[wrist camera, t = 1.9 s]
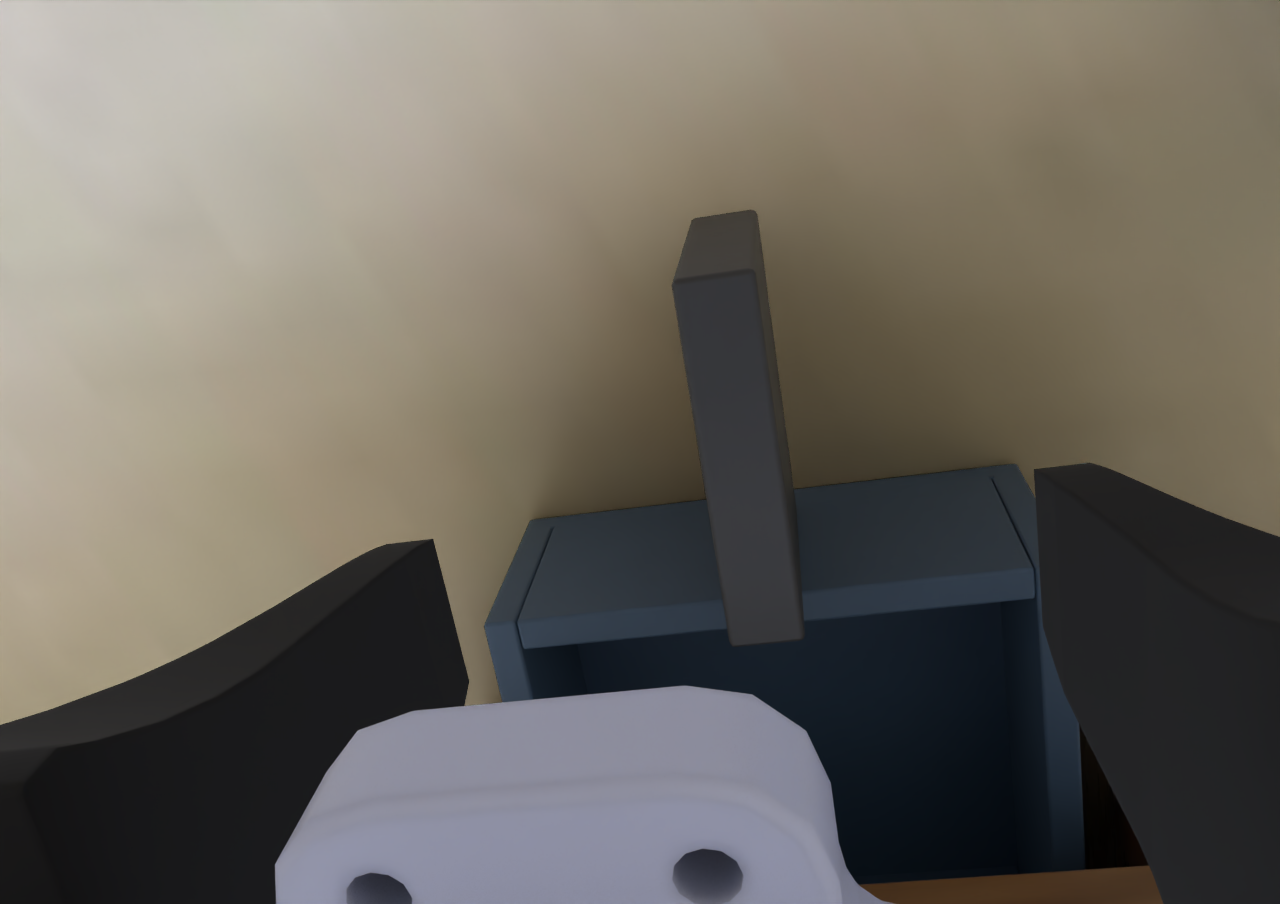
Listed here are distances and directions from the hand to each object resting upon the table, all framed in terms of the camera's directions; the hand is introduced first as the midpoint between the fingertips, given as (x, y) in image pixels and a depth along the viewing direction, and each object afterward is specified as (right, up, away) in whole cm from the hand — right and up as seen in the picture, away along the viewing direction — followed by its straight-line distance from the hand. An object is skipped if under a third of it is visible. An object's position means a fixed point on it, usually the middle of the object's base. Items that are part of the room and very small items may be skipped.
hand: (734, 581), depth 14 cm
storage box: (+2, -1, +11) cm, 11 cm away
